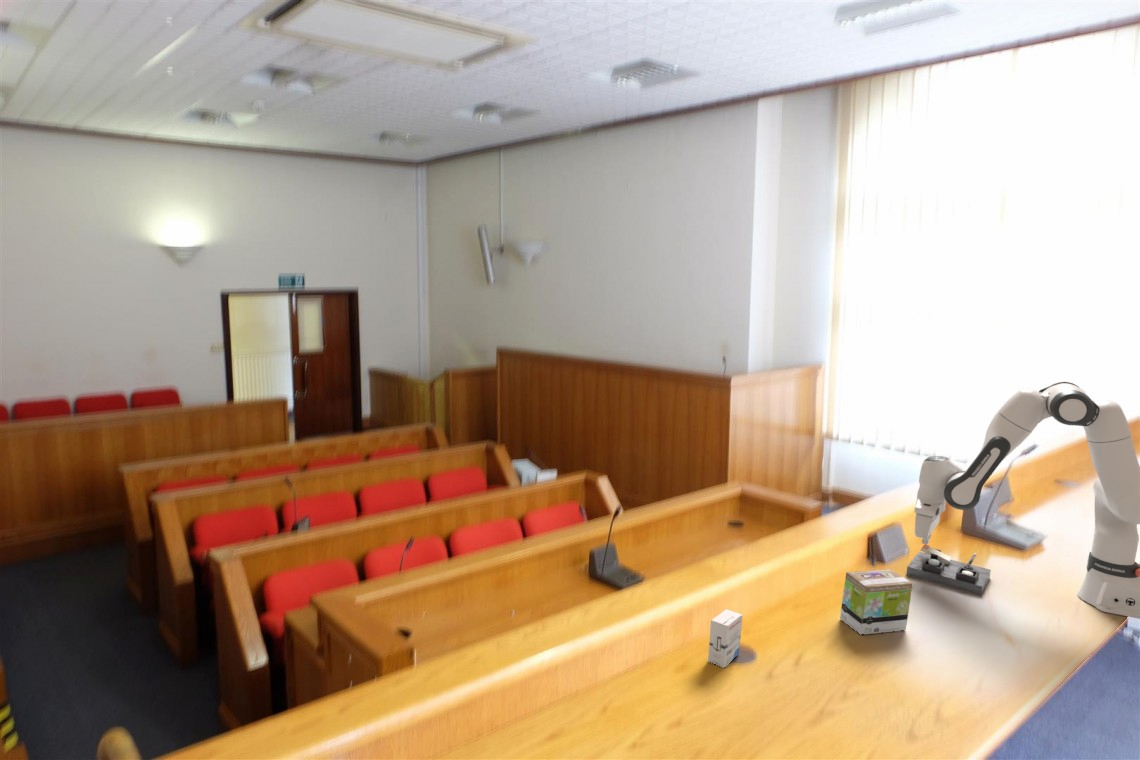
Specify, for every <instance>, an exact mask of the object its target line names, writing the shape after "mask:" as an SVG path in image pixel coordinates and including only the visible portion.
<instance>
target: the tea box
mask: <svg viewBox="0 0 1140 760" xmlns="http://www.w3.org/2000/svg"><path fill="white" fill-rule="evenodd" d="M912 591H913V582H912V581H909V580H908V579H907V578H905V577H903V576H902V575H900V574H899V573H897V572H896V571H895V570H893V569H892V568H885V569H884V568H883V569H872V570H871V569H870V570H859V571H857V570H856V571H846V573H845V578H844V586H843V593H842V599H841V600H842V601H841V607H840V608H841V609H840V614H839V615H840V616H839V619H840V620H841V621H842V622H843V621H844V622H843V623H844V624H846V625H847V624H848V625H849V626H850V627H849V626H848V625H847V626H848V627H849V628H851V629H852V628H853V629H854V630H855V631H854V630H853V629H852V630H853V631H854V632H856V631H857V632H858V633H859V634H860V635H859V634H858V633H857V632H856V633H857V634H858V635H859V636H862V635H861V634H864V635H871V634H881V633H882V632H883V633H892V632H893V631H895V632H902V631H901V630H905V631H906V630H907V624H908V617H909V612H910V611H909V610H910V604H911V597H912Z"/></svg>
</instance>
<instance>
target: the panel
mask: <svg viewBox="0 0 1140 760" xmlns="http://www.w3.org/2000/svg"><path fill="white" fill-rule="evenodd" d="M935 549H936V548H935ZM936 550H938V551H940V552H942V549H938V548H937V549H936ZM929 559H936V560H938V561H939V566H932V565H929V564H928V561H929ZM962 571H970V572H972V573H973V576H970V575H966V574H962ZM991 572H992V571H991V569H989V568H986V567H982V566H981V567H980V566H977V565H973V564H971V566H970V567H968V566H967V563H966V562H965V563H964V562H963V561H962V562H961V561H958V560H953V559H951V560H950V562H949V563H948V564H947V563H945V562H943V561H941V560H939V559H938V555H935V554H931V555H929V554H927V553H925V552H923V551H918V552H917V553H916V555H915V556H914V557H913V559H912V560H911V561H910V562H909V564H908V565H907V566H906V576H908V577H913V578H916V579H919V580H923V581H926V582H930V583H934V584H937V585H940V586H945V587H948V588H952V589H956V590H959V591H963V592H966V593H971V594H974V595H977V596H982V594H983V593H984V590H985V589H986V586H987V584H988V582H989V580H990V578H991Z"/></svg>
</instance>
